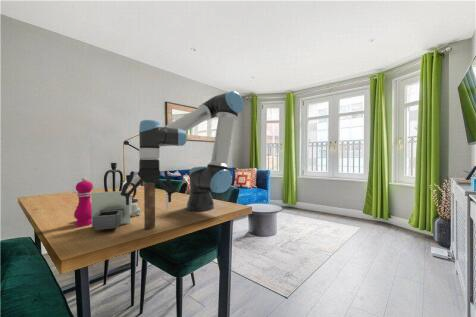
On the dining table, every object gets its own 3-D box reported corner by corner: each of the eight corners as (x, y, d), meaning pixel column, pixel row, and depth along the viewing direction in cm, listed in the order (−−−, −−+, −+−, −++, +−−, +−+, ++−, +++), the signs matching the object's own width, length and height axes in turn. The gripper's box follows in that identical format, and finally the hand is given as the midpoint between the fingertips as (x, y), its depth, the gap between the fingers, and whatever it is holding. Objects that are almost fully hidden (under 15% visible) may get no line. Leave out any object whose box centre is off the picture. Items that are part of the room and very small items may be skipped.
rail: (155, 225, 88) (154, 182, 88) (155, 228, 85) (155, 183, 84) (144, 227, 87) (144, 183, 87) (144, 230, 83) (144, 184, 83)
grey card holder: (130, 222, 93) (130, 190, 93) (127, 231, 82) (127, 195, 82) (92, 226, 88) (92, 192, 88) (84, 236, 77) (83, 197, 77)
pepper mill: (71, 227, 86) (71, 178, 86) (76, 222, 93) (76, 177, 93) (92, 225, 89) (92, 177, 89) (96, 220, 96) (96, 176, 95)
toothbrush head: (79, 212, 97) (139, 199, 107) (81, 226, 97) (141, 212, 108) (76, 214, 92) (139, 201, 103) (78, 229, 92) (141, 214, 103)
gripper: (180, 159, 94) (180, 207, 94) (115, 158, 84) (115, 212, 84) (182, 159, 87) (182, 211, 87) (112, 159, 77) (112, 217, 77)
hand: (149, 211), depth 85 cm, fingers open, 13 cm apart
